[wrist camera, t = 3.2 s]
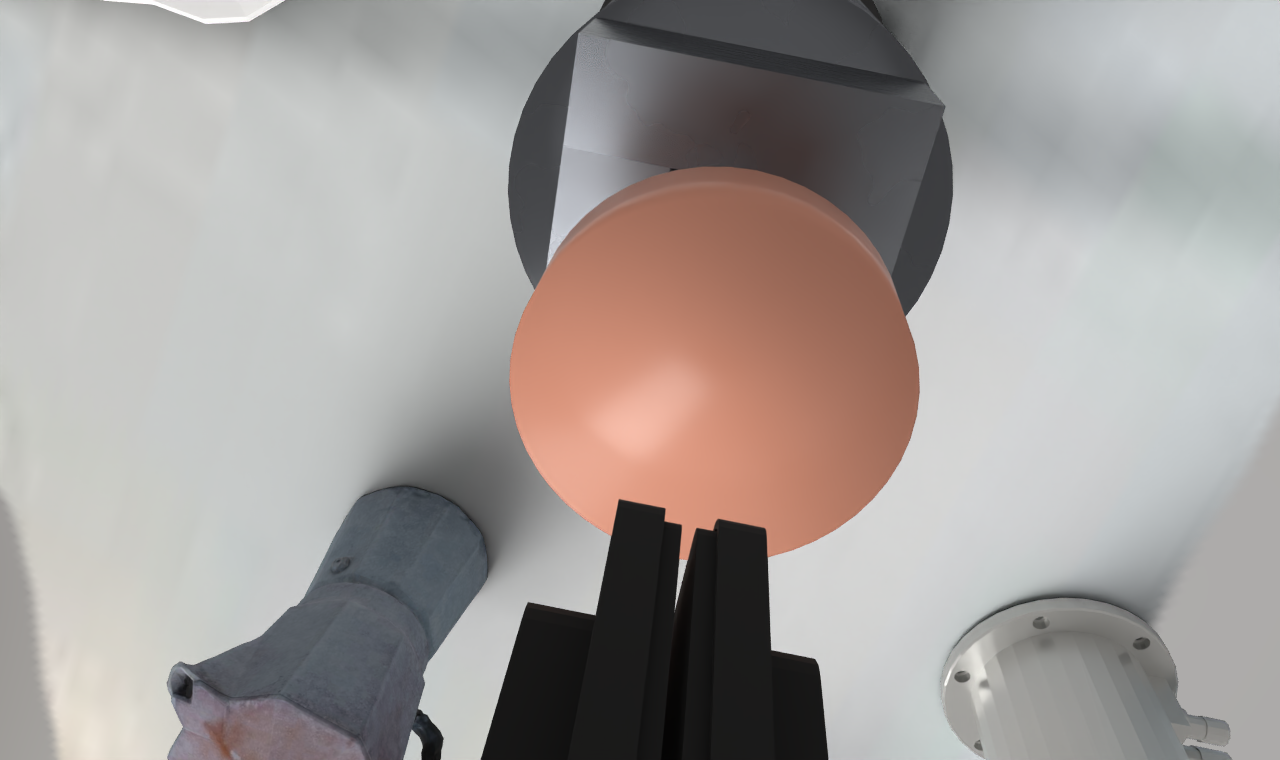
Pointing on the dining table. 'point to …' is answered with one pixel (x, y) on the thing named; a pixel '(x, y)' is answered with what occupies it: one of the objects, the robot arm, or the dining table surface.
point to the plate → (214, 9)
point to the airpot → (738, 119)
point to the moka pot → (343, 645)
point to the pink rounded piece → (716, 359)
